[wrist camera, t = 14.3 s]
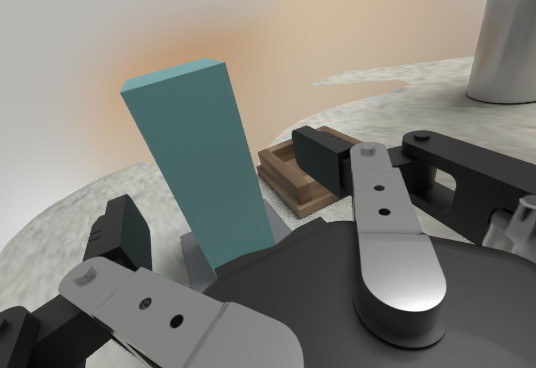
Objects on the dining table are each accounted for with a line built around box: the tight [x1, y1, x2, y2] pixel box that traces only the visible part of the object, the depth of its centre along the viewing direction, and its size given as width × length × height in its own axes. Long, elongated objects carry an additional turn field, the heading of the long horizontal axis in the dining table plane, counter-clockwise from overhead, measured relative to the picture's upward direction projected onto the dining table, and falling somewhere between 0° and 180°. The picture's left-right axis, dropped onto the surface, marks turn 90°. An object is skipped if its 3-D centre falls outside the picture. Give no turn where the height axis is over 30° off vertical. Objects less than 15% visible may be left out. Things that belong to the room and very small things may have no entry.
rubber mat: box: [181, 199, 292, 293], centre depth 22 cm, size 9×9×1 cm
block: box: [120, 58, 276, 278], centre depth 18 cm, size 5×5×14 cm
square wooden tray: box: [257, 126, 363, 218], centre depth 28 cm, size 10×10×3 cm
